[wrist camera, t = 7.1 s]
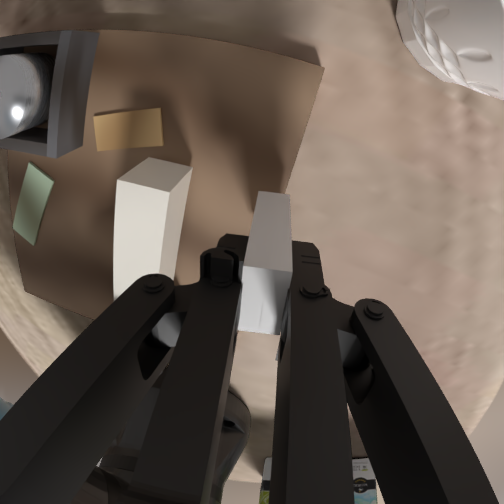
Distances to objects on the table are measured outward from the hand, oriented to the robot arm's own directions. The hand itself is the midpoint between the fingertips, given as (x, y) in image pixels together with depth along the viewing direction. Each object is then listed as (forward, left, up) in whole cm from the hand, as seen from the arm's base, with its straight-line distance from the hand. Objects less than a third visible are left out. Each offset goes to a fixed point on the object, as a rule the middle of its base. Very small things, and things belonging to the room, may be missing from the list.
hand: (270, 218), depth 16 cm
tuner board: (-2, +9, -2) cm, 9 cm away
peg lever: (-5, +6, -1) cm, 7 cm away
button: (+4, +15, 0) cm, 15 cm away
